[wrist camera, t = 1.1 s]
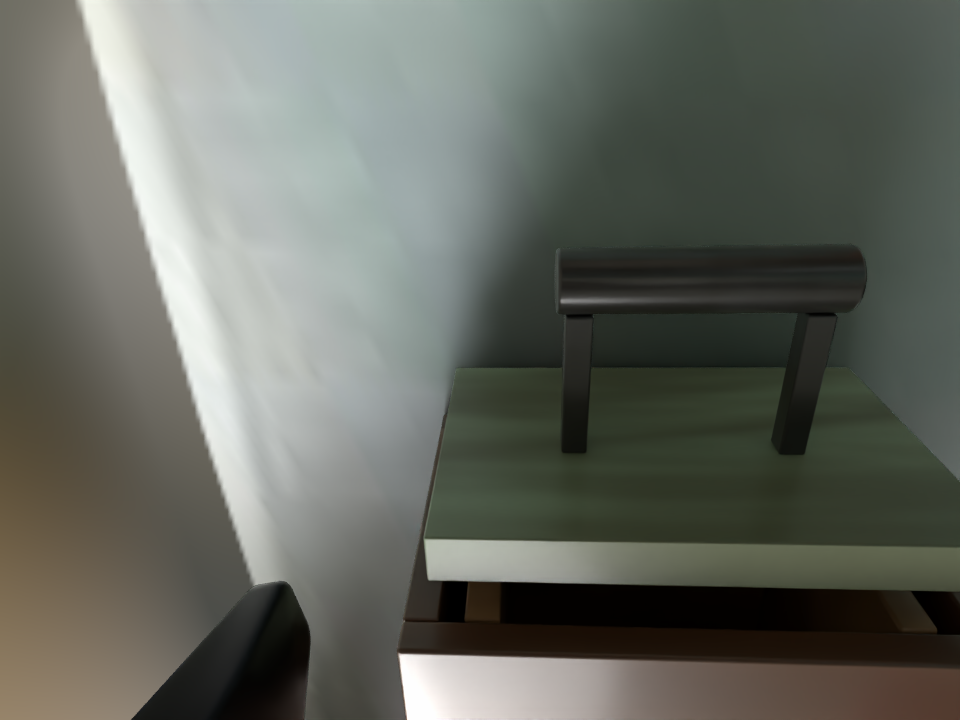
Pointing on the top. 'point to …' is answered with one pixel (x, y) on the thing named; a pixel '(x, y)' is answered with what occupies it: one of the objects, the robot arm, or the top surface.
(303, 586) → the top surface
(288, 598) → the robot arm
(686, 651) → the cabinet
